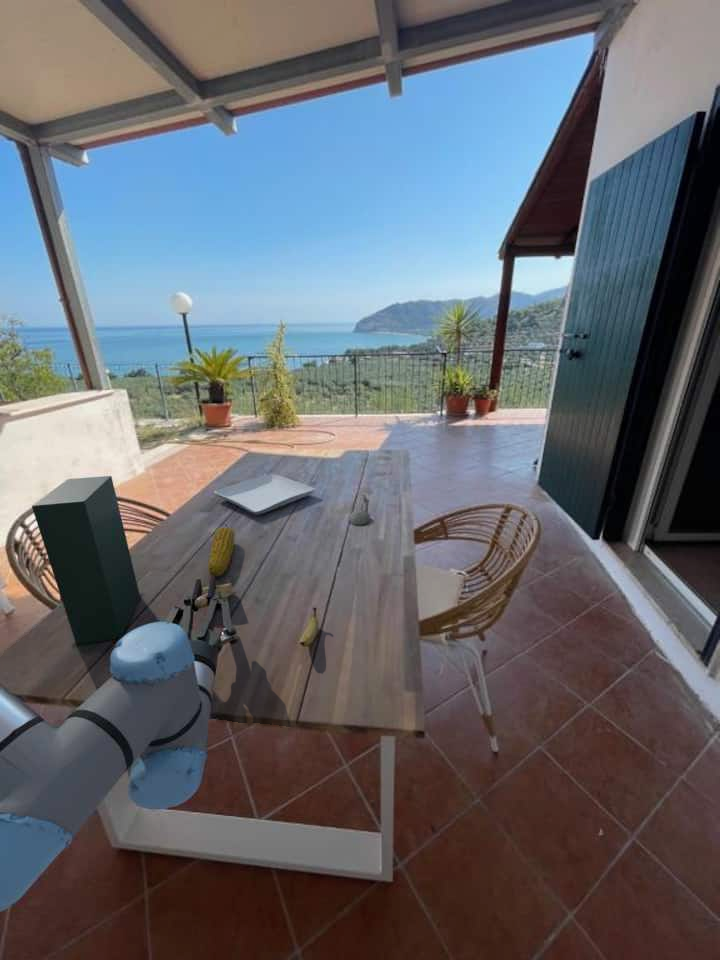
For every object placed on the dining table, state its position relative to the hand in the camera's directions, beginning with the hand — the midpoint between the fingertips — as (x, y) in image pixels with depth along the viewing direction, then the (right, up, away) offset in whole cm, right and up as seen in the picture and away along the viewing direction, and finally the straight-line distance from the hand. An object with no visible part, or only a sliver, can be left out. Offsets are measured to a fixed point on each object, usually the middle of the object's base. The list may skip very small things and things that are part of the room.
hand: (206, 584), depth 77 cm
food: (-7, -1, +29) cm, 30 cm away
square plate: (-5, +13, +69) cm, 71 cm away
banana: (+20, -12, +1) cm, 24 cm away
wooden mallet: (0, -4, +3) cm, 5 cm away
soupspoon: (+31, +10, +58) cm, 67 cm away
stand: (-23, -9, +7) cm, 26 cm away
